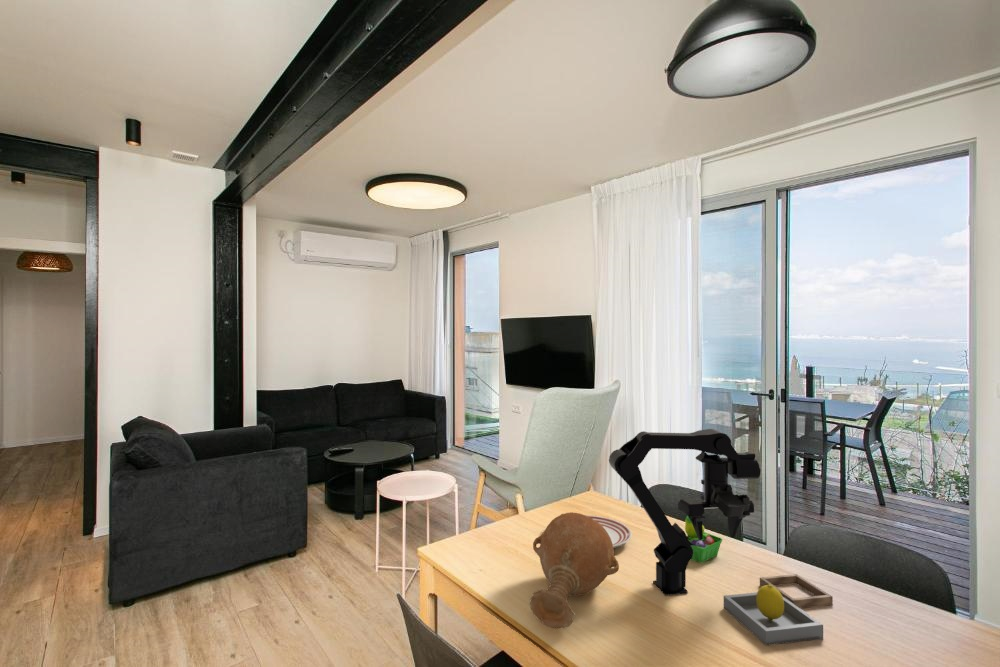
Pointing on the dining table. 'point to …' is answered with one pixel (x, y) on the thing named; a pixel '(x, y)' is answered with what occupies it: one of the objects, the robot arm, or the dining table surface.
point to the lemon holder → (817, 600)
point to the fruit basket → (702, 543)
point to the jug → (570, 565)
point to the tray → (773, 621)
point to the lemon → (770, 602)
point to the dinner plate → (614, 530)
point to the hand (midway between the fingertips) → (716, 538)
